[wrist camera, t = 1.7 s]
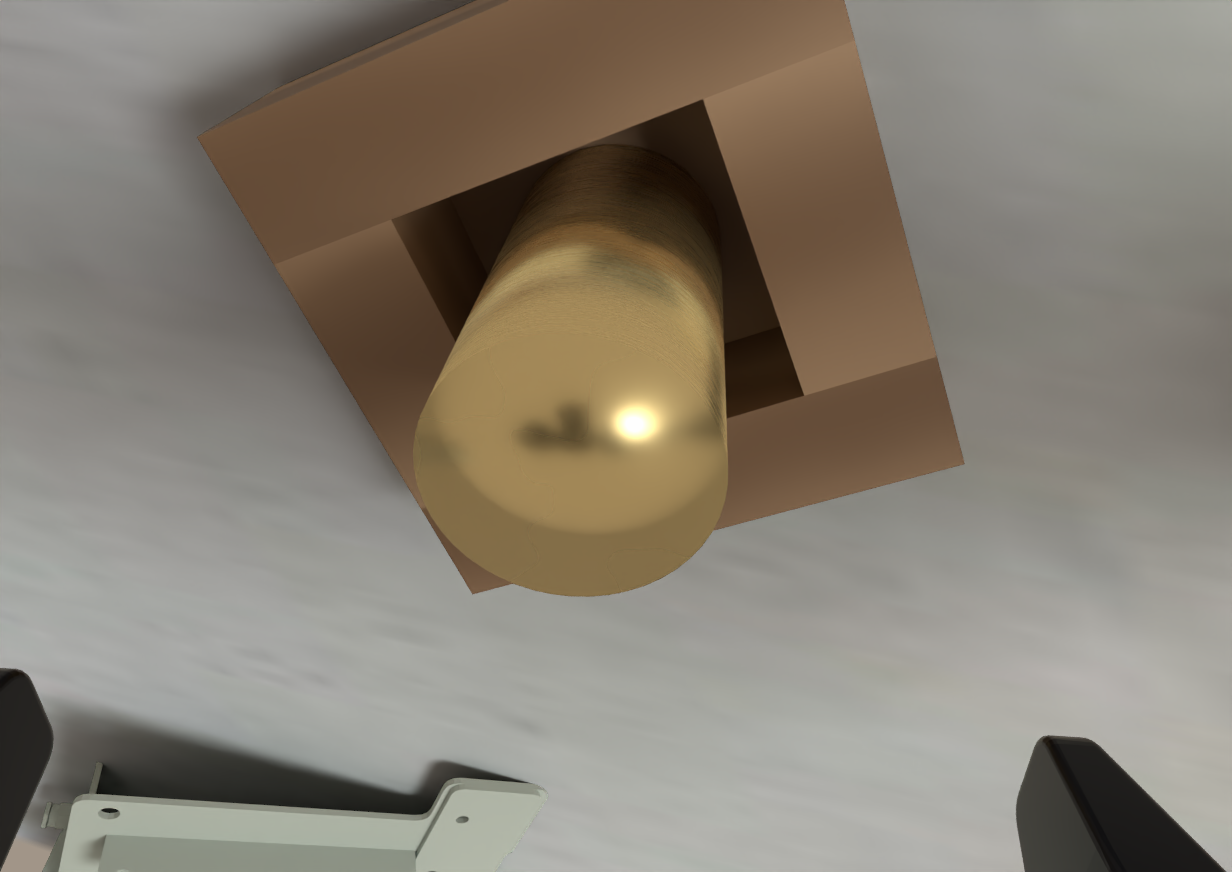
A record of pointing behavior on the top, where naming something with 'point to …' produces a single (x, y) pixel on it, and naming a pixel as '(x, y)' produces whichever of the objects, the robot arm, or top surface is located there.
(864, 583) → the top surface
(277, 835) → the metal bracket
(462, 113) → the walnut socket block
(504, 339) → the brass pin
